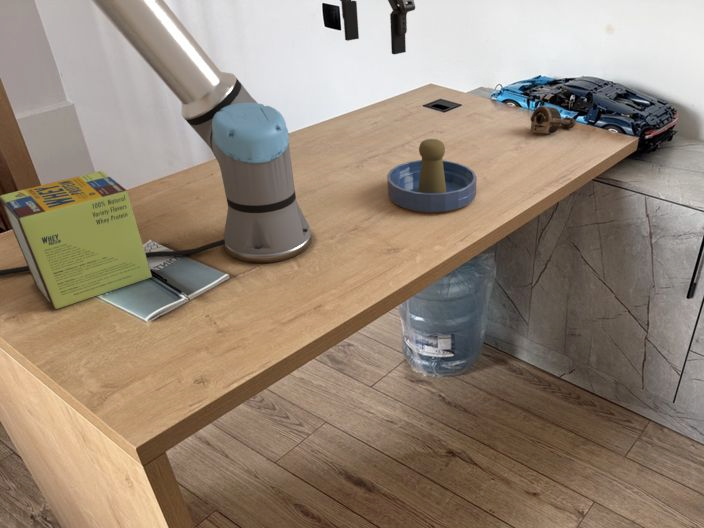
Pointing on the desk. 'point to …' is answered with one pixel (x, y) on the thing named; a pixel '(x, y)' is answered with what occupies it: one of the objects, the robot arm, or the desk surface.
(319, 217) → the desk surface
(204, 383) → the desk surface
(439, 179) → the olive peg doll
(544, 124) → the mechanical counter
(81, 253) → the protein box
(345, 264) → the desk surface
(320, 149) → the desk surface
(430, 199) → the bowl
